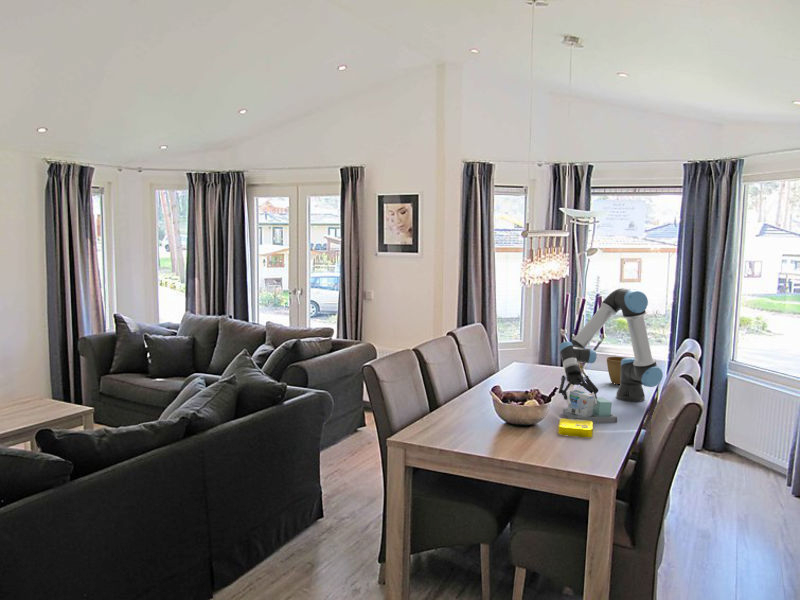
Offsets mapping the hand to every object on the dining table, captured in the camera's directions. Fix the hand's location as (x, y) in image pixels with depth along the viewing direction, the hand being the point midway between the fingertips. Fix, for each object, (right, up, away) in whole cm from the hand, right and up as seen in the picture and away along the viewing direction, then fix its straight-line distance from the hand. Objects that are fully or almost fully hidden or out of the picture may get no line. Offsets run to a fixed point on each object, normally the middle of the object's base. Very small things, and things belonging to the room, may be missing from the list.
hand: (582, 404), depth 298 cm
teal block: (+10, -7, +4) cm, 13 cm away
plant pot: (+48, -1, +84) cm, 96 cm away
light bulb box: (0, -5, +3) cm, 6 cm away
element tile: (-8, -10, -16) cm, 21 cm away
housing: (+5, -8, +4) cm, 10 cm away
